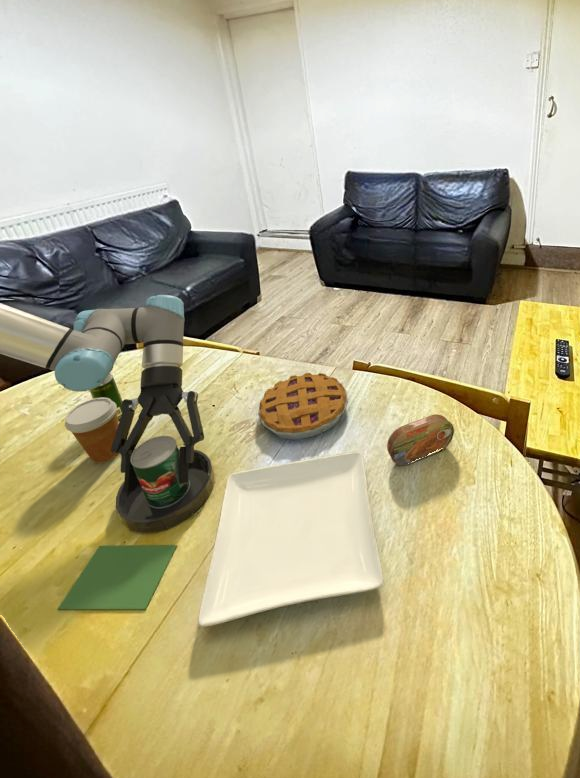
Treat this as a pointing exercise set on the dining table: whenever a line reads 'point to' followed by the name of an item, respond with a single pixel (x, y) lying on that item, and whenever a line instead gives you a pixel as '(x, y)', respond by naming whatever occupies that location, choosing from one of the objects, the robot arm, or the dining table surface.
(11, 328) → the robot arm
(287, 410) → the pie
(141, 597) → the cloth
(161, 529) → the pan
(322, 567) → the square plate
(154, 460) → the canned tomato
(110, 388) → the beer can
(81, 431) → the disposable coffee cup
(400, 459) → the tin
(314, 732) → the dining table surface
